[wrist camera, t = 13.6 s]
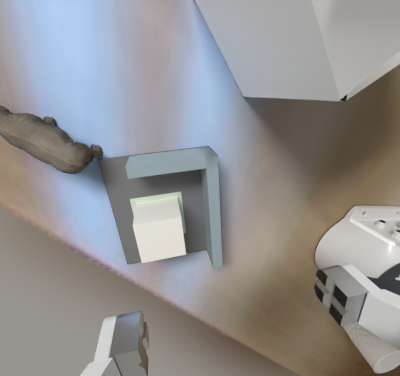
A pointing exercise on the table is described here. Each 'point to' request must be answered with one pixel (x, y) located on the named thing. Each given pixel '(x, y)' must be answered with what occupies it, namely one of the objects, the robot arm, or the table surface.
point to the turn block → (159, 229)
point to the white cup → (373, 348)
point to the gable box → (305, 45)
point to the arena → (168, 195)
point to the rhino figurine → (46, 141)
